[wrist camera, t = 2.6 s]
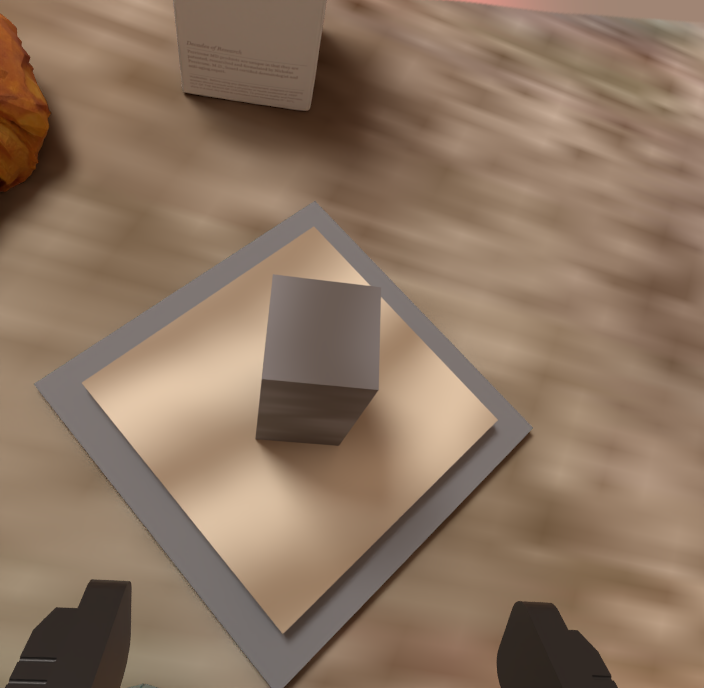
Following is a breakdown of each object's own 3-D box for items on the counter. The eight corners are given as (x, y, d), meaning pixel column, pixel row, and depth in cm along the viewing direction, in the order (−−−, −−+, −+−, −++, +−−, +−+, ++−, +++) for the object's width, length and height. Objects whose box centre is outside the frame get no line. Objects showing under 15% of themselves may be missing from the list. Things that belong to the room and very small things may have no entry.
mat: (37, 387, 26) (33, 384, 25) (313, 206, 32) (314, 200, 31) (276, 692, 23) (276, 694, 22) (528, 430, 29) (533, 427, 28)
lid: (86, 388, 25) (15, 297, 17) (312, 234, 30) (338, 108, 22) (281, 632, 23) (304, 657, 15) (491, 424, 28) (592, 359, 20)
